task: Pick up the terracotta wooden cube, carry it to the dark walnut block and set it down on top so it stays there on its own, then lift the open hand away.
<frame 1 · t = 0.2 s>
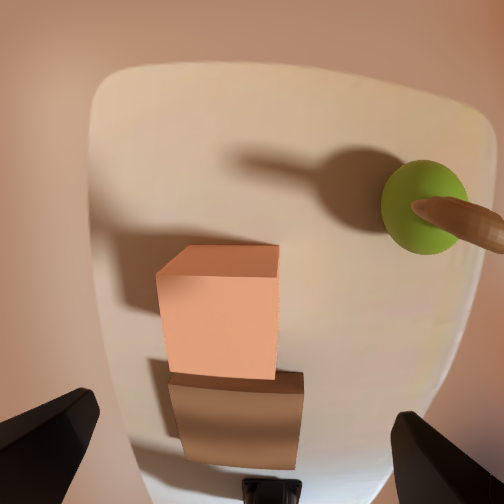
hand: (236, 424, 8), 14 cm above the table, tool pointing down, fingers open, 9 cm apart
snail figurine: (413, 202, 19), on the table
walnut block: (241, 410, 25), on the table
terracotta cube: (235, 287, 21), on the table
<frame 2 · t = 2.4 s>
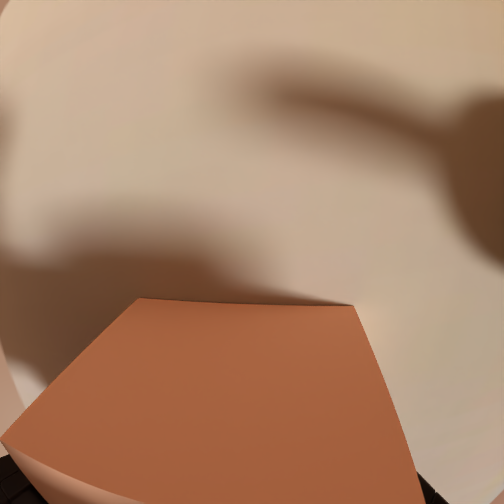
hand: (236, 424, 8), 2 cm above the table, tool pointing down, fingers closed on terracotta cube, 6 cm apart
terracotta cube: (243, 390, 9), on the table, touching gripper
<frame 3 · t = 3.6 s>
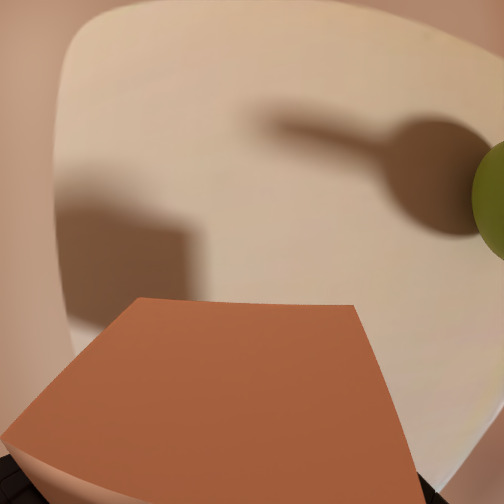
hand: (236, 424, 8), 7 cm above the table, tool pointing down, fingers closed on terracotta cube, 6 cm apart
snail figurine: (497, 197, 12), on the table
terracotta cube: (243, 389, 9), point 6 cm above the table, touching gripper
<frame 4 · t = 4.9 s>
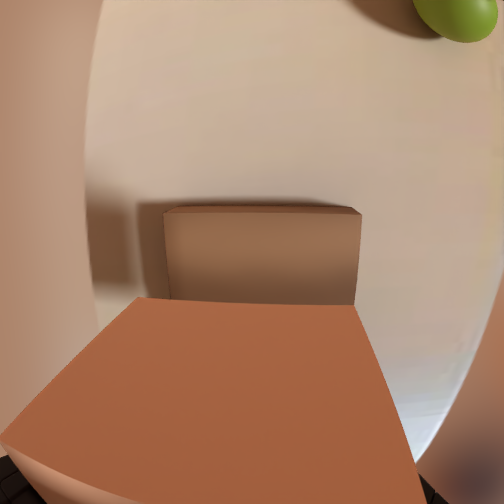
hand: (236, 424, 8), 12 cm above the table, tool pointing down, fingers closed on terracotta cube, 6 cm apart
snail figurine: (442, 20, 13), on the table
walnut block: (264, 285, 20), on the table
terracotta cube: (243, 389, 9), point 10 cm above the table, touching gripper
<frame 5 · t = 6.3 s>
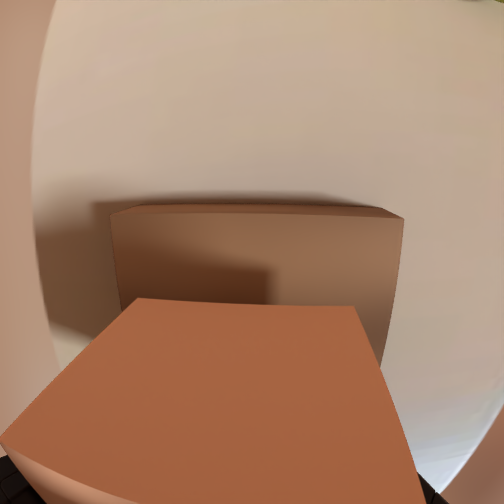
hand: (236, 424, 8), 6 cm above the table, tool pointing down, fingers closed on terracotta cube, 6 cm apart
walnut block: (257, 314, 14), on the table
terracotta cube: (243, 390, 9), point 5 cm above the table, touching gripper
when the fingers open (5 cm above the table, at t = 7.4 s): terracotta cube drops 2 cm, resting on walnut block.
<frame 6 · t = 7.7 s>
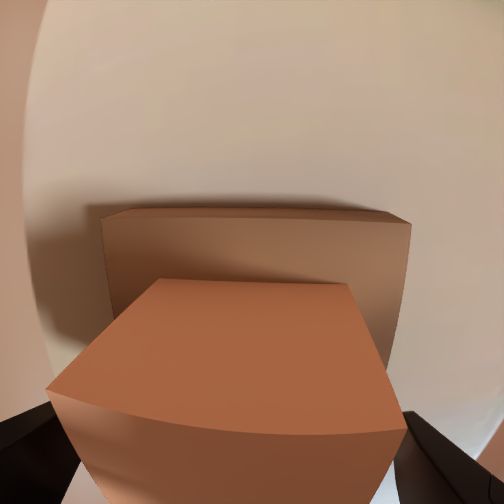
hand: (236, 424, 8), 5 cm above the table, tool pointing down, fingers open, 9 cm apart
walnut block: (256, 323, 13), on the table, touching terracotta cube
terracotta cube: (251, 362, 11), point 2 cm above the table, touching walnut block
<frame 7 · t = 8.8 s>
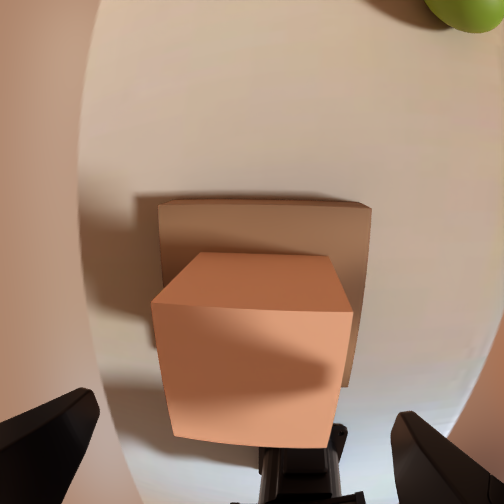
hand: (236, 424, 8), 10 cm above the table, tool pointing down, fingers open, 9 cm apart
snail figurine: (450, 12, 12), on the table
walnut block: (265, 285, 18), on the table, touching terracotta cube
terracotta cube: (262, 312, 15), point 2 cm above the table, touching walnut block
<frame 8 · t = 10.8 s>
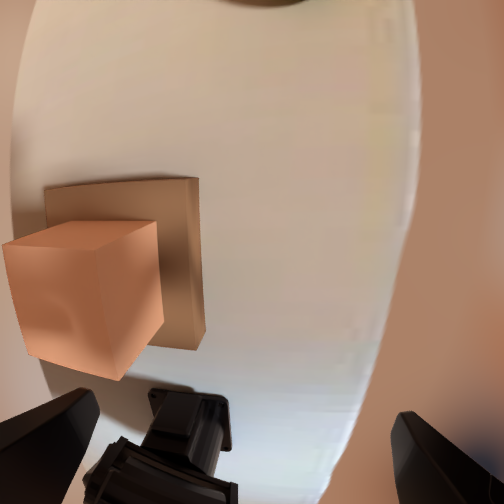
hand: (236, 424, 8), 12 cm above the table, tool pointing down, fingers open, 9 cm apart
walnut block: (133, 255, 20), on the table, touching terracotta cube
terracotta cube: (114, 270, 17), point 2 cm above the table, touching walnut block
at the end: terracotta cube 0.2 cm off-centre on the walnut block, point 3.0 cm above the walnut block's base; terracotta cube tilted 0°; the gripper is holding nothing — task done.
